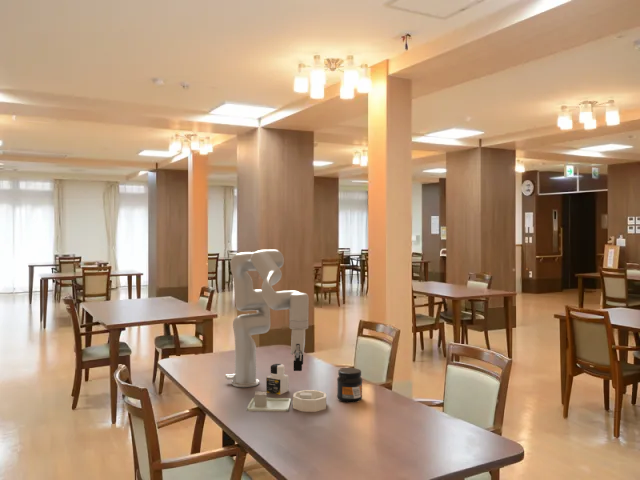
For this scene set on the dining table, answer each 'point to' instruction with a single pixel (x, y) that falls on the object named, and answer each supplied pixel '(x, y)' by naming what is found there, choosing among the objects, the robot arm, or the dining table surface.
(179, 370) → the dining table surface
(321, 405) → the bowl
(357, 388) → the supplement container
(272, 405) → the tray
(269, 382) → the medicine bottle
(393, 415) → the dining table surface
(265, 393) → the beige small block
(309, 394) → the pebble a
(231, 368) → the dining table surface
